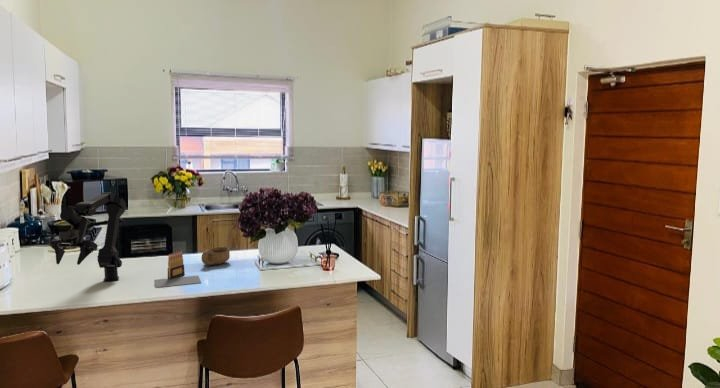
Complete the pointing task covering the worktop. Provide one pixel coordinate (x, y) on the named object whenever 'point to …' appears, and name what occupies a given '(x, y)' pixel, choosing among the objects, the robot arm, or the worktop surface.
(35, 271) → the worktop surface
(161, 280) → the rubber mat
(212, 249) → the bowl
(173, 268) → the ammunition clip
